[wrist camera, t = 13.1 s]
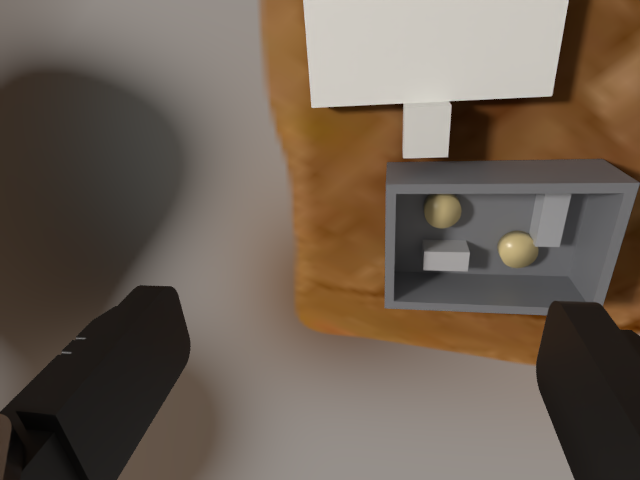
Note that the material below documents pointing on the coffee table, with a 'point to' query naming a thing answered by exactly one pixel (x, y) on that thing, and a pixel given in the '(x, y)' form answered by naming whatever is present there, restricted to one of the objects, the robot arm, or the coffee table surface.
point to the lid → (431, 57)
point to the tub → (503, 233)
